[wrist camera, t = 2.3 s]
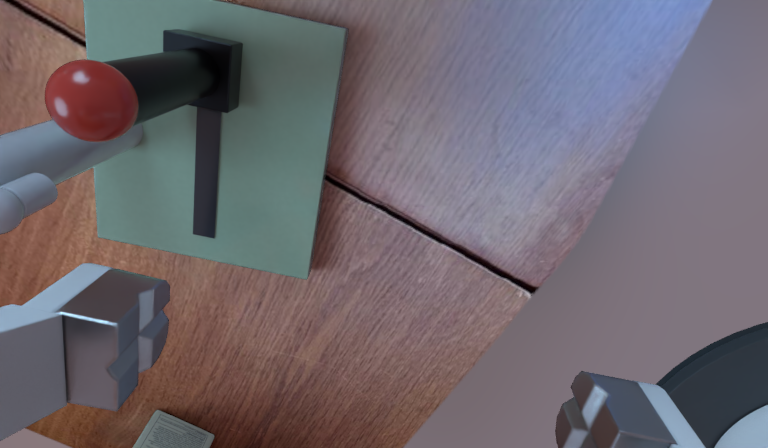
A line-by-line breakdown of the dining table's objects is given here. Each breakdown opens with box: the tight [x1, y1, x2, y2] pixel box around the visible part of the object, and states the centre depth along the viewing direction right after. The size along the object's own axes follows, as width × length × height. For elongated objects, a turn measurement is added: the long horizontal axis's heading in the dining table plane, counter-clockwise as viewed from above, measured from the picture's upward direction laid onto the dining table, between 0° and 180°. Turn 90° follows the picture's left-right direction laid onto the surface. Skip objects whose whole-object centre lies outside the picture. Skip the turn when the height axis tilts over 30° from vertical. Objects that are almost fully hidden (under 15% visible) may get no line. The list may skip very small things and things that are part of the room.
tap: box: [0, 0, 349, 280], centre depth 26 cm, size 16×18×16 cm
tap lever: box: [45, 29, 243, 142], centre depth 23 cm, size 4×4×13 cm
